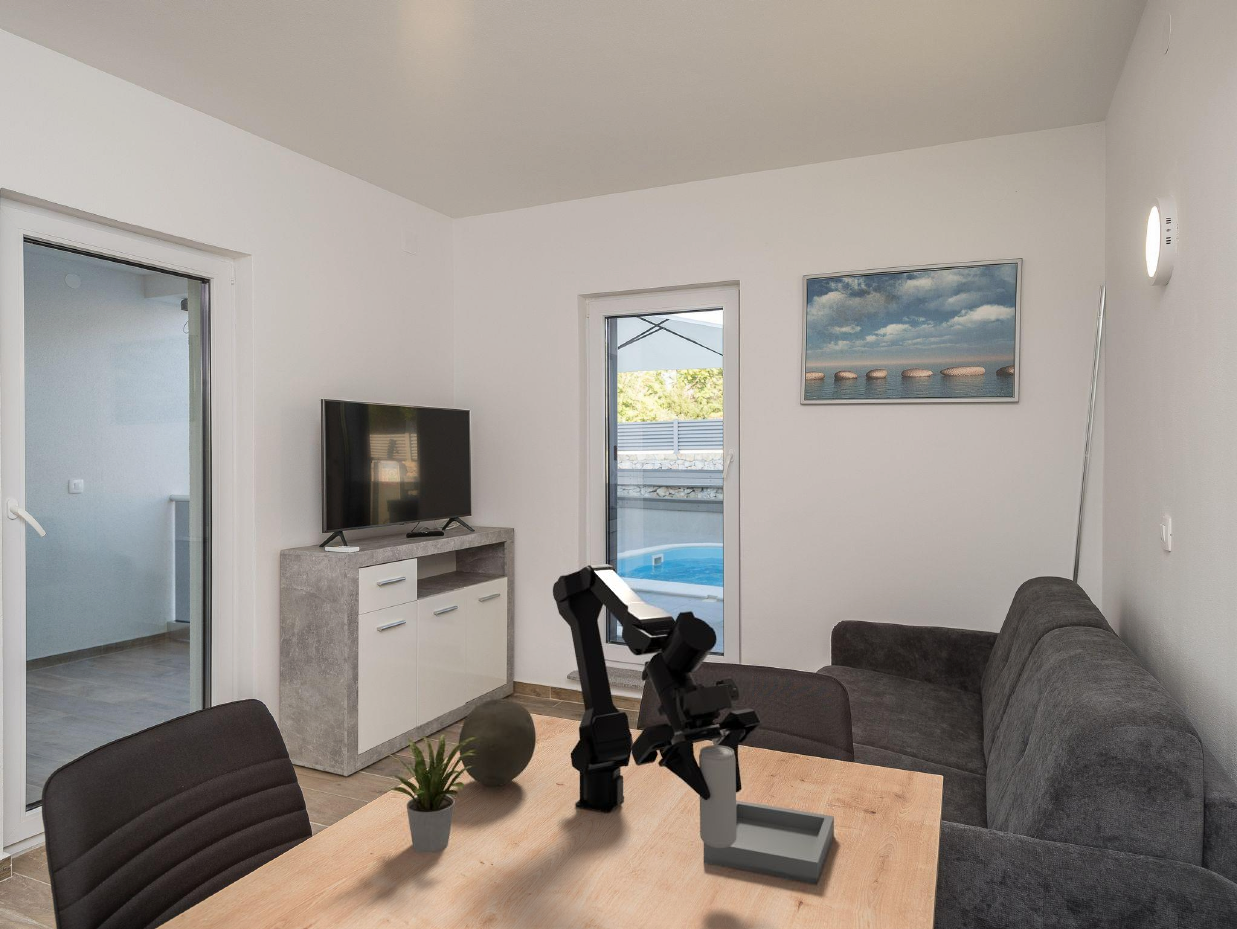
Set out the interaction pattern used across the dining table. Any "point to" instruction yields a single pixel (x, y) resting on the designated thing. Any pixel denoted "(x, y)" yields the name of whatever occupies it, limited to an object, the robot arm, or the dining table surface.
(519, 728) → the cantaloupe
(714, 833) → the beverage can
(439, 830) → the house plant
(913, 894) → the dining table surface
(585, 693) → the robot arm
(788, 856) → the tray
